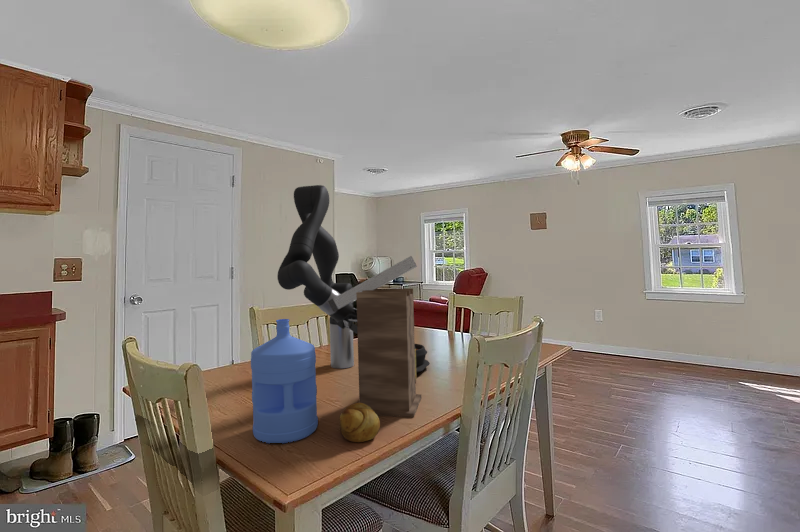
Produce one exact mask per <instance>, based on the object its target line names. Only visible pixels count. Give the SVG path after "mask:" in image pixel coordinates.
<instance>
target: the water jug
mask: <svg viewBox="0 0 800 532" xmlns="http://www.w3.org/2000/svg"><path fill="white" fill-rule="evenodd" d="M275 322H276V327H275V329H276V336H274V337H273V338H271V339H269V340H268V341H266V342H264V343H263V344H261V345H258V346H257V347H255V348H254V349H252V351H251V352H250V355H251V356H250V369H251V390H252V391H251V401H252V402H251V403H252V413H253V414H252V416H253V420H252V421H253V422H252V423H253V424H252V434H253V436H254V438H255V439H256V440H258V441H259V442H261V441H262V442H261V443H264V442H266V443H265V444H270V443H282V444H289V443H293V441H294V442H298V441H300V440H302V439H306V438H307V437H309V436H310V435H312V434H313V433H314V432H316V430H317V428H318V423H319V419H318V406H317V404H318V403H317V394H318V389H317V387H318V386H317V376H316V375H317V372H316V363H317V355H316V349H315V348H316V347H315V345H314V344H313V343H311V342H307V341H305V340H302V339H300V338H298V337H294V336H292V335H291V334H290V329H291V328H290V327H291V326H290V324H289V323H290V319H289V318H281V319H276V320H275ZM288 442H289V443H288Z"/></svg>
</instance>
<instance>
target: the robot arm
mask: <svg viewBox="0 0 800 532" xmlns="http://www.w3.org/2000/svg"><path fill="white" fill-rule="evenodd" d="M293 202H294V206H295V208H296V211H297V213H298V216H299V218H300V221H301V224H300V225H299V226H298V227H297V228H296V229H295V231H294V232H293V234H292V237H291V239H290V244H289V247H288V251H287V253H286V255H285V256H284V258H283V260H282V262H281V263H280V266H279V268H278V271H277V282H278V284H279V286H280V287H281V288H282V289H284V290H286V291H287V290H294V289H296V288H298V287H300V286H304V290H303V296H304V297H305V298H306V299H307V300H309V301H310V302H311V303H312V304H314V305H315V306H316V307H318V309H320V311H322V312H323V313H324V314H326V315H328V316H329V344H330V345H329V348H330V350H329V351H330V367H331V368H333V369H348V368H352V367H354V365H355V357H354V356H355V355H354V354H355V353H354V333H355V334H358V332H357V324H355V323H357V308H355V307H354V302H352V303H350V304H348V305H346V306H344V307H343V308H341V309H339V310H337V311H335V312H333V310H332V308H331V306H330V304H329V302H328V301H329V300H331V299H333V298H335V297H337V296H339V295H340V294H342V293H344V292H346V291H348V290H350V289H351V288H353V285H352V284H351V283H349V282H334V281H333V277H332V276H333V273H334V271H335V268H336V266H337V264H338V262H339V257H340V255H339V250H338V247H337V243H336V240H335V238H334V237H333V236H332V234H330V232H328V230H326V229H325V228H324V227H323V226H322V224H323V222H324V220H325V217H326V215H327V212H328V210H329V206H330V193H329V191H328V189H327V187H326V186H324V185H322V184H319V185H318V184H316V185H305V186H298V187H296V188H295V189H294V191H293ZM312 256H313V259H314V262H315V266H316V268H317V271H318V273H317V272H316V271H315V269H314V268H313V266H312V265H311V264H309V263H308V262H309V261H310V260H311V257H312Z"/></svg>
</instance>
